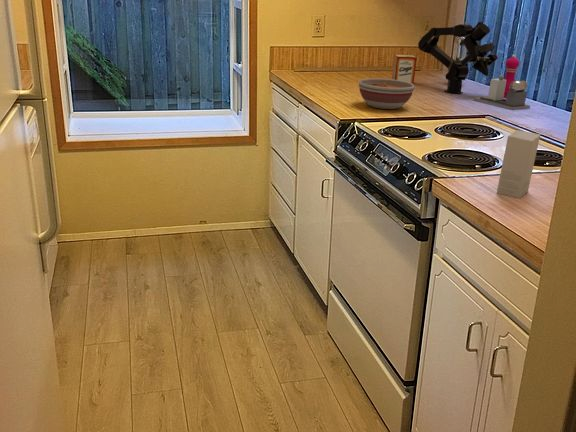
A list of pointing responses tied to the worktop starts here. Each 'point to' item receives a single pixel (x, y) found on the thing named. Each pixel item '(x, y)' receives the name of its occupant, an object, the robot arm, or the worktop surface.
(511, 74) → the pepper mill
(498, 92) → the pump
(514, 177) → the skincare box
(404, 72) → the orange white cardboard box
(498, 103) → the base
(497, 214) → the worktop surface
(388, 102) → the bowl
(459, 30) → the robot arm
